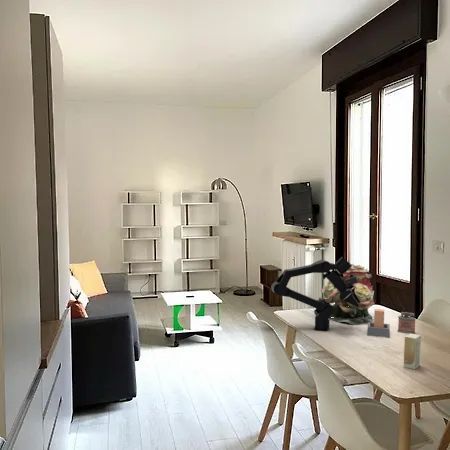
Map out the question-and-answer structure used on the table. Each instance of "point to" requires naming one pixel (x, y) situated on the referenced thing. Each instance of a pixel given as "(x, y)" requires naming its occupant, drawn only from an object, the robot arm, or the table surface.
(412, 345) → the skincare box
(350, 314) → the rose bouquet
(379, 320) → the terracotta block
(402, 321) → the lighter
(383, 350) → the table surface
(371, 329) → the well
